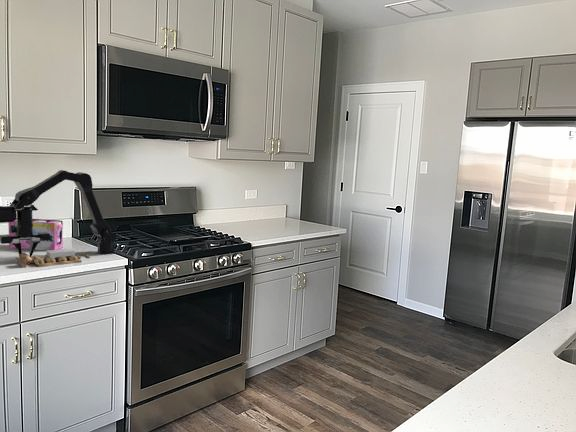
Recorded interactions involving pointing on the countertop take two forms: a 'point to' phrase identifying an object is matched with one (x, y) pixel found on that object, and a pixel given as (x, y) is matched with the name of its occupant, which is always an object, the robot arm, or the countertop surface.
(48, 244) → the gum box
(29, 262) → the roller
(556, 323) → the countertop surface
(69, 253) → the slab
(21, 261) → the stop block
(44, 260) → the roller track
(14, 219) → the robot arm
